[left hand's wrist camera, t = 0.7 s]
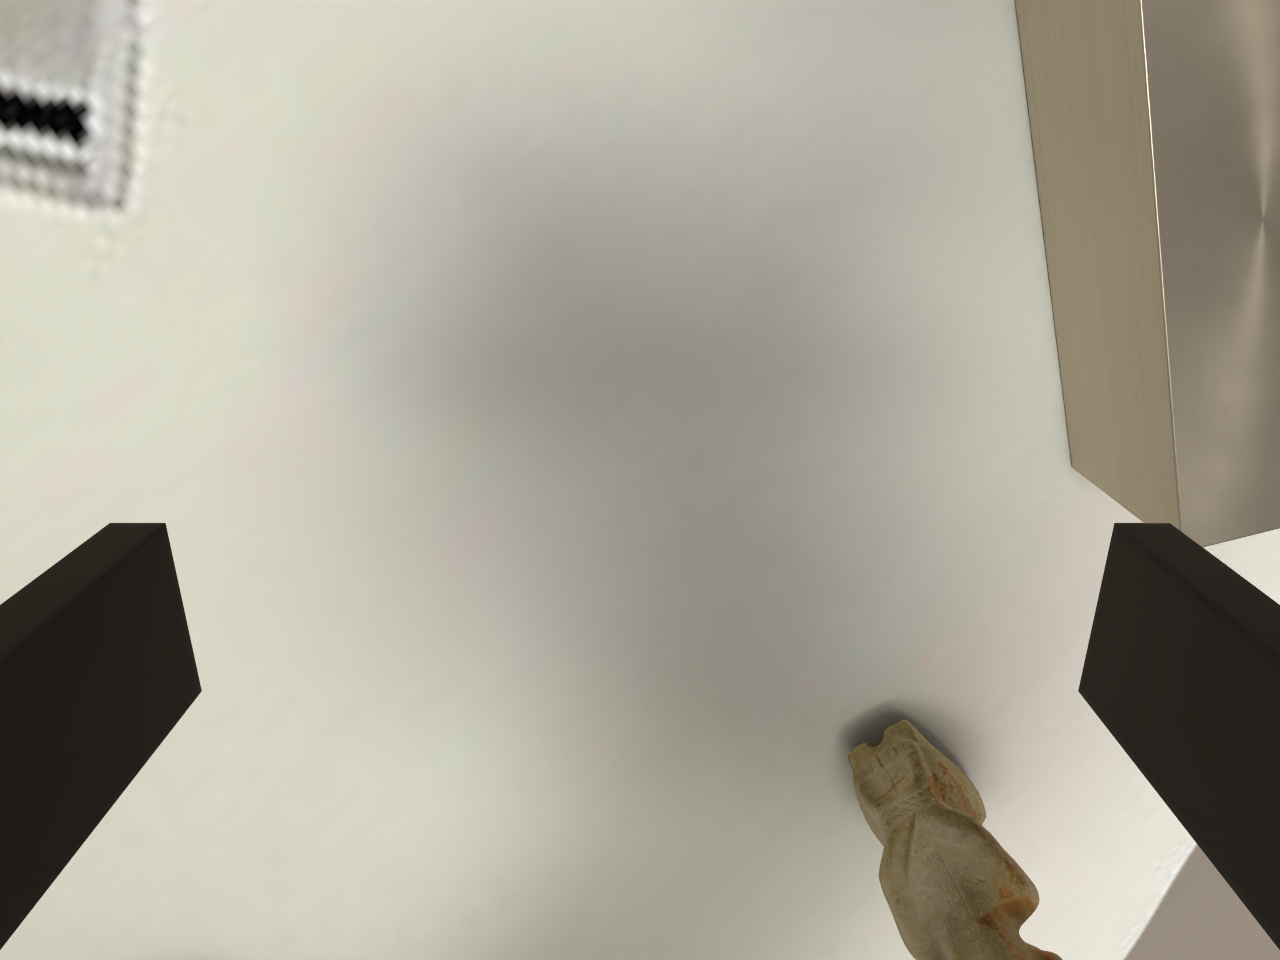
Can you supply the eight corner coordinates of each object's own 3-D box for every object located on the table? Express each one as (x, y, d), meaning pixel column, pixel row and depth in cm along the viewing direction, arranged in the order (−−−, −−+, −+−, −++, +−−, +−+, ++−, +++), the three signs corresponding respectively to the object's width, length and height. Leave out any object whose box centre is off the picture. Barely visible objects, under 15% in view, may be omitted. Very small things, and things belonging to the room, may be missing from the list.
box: (1217, 429, 38) (1367, 507, 30) (1071, 467, 39) (1181, 553, 31) (1184, -141, 31) (1373, -235, 23) (1004, -82, 31) (1127, -155, 24)
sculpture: (889, 837, 46) (999, 1142, 32) (816, 745, 44) (899, 1029, 30) (990, 784, 45) (1148, 1078, 31) (919, 687, 43) (1055, 954, 29)
